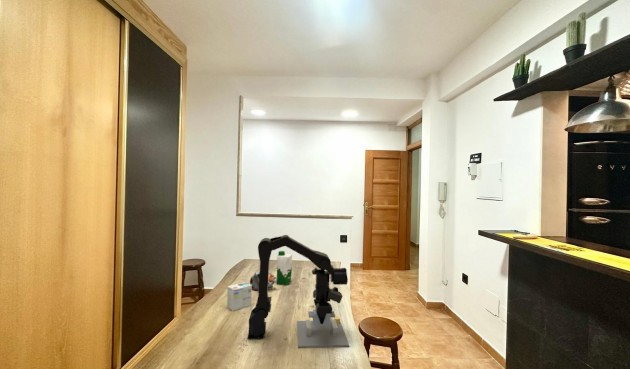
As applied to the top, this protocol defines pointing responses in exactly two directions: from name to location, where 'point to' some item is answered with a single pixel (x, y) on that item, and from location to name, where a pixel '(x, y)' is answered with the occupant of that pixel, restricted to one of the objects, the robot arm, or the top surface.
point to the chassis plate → (321, 334)
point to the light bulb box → (239, 296)
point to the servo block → (316, 320)
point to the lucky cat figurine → (255, 281)
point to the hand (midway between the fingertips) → (321, 321)
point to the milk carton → (284, 268)
